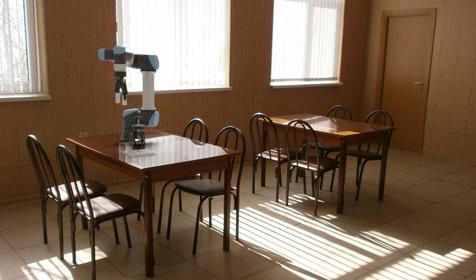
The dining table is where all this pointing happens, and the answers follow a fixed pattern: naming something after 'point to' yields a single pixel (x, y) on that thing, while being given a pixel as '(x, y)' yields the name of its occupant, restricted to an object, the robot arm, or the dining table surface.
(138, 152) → the ceramic tile
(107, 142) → the dining table surface
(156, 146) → the dining table surface
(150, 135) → the dining table surface
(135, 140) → the french press
